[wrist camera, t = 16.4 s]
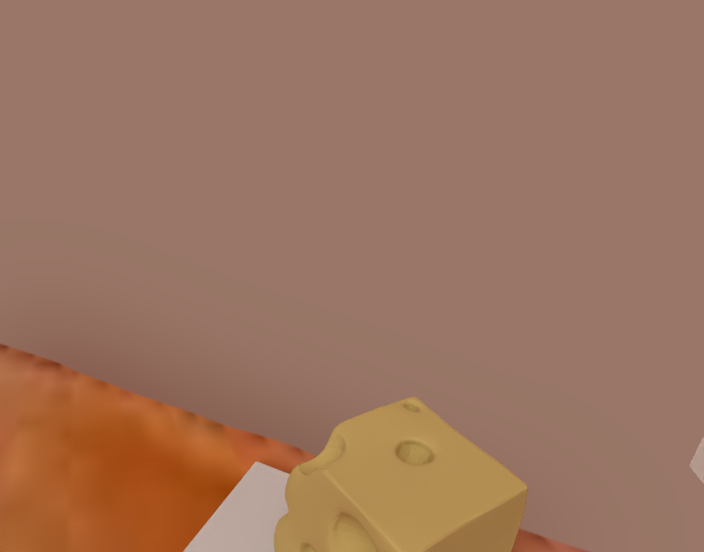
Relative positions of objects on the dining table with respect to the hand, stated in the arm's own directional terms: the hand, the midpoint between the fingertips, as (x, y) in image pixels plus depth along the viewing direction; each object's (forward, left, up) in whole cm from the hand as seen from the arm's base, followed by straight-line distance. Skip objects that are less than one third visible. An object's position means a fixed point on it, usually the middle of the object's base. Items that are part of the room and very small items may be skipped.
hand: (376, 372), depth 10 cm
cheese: (-1, +19, -27) cm, 33 cm away
